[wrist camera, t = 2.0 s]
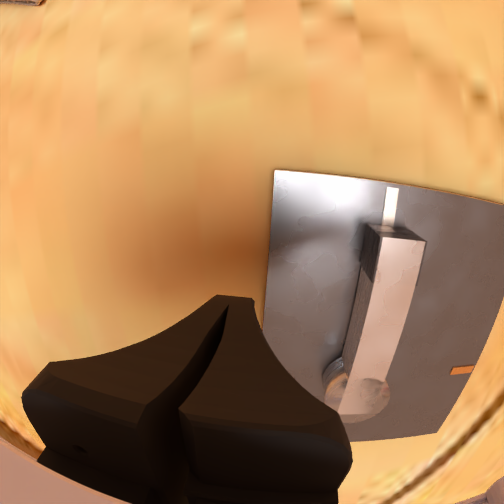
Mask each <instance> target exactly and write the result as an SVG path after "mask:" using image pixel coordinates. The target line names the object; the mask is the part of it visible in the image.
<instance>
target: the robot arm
mask: <svg viewBox="0 0 504 504" xmlns="http://www.w3.org/2000/svg"><path fill="white" fill-rule="evenodd" d="M254 303H255V301H254V300H253V299H252V298H245V297H235V296H225V295H216V296H214V297H213V298H211V299H210V300H209V301H208V302H206V303H205V304H204V305H202V306H201V307H200V308H198V309H197V310H196V311H194V312H193V313H191V314H190V315H189V316H187V317H186V318H184V319H182V320H181V321H179V322H178V323H176V324H174V325H173V326H171V327H170V328H168V329H166V330H164V331H163V332H161V333H159V334H157V335H155V336H153V337H150V338H148V339H146V340H144V341H141V342H139V343H136V344H133V345H131V346H128V347H125V348H122V349H119V350H116V351H113V352H109V353H105V354H101V355H97V356H92V357H87V358H81V359H74V360H66V361H57V362H49V363H48V364H47V366H46V367H45V368H44V369H43V370H42V371H41V372H40V373H39V374H38V375H37V377H36V378H35V379H34V380H33V381H32V382H31V383H30V384H29V386H28V387H27V388H26V389H25V390H24V391H23V393H22V397H21V398H22V403H23V408H24V411H25V413H26V415H27V417H28V419H29V420H30V422H31V424H32V425H33V427H34V429H35V430H36V432H37V433H38V435H39V436H40V438H41V440H42V441H43V443H44V444H45V445H46V448H45V449H44V451H43V452H42V454H41V455H40V457H39V458H38V460H36V459H35V458H33V457H31V456H30V455H28V454H26V453H24V452H23V451H21V450H20V449H18V448H16V447H15V446H13V445H12V444H10V443H9V442H7V441H6V440H4V439H3V438H1V437H0V504H338V488H339V487H340V485H341V483H342V482H343V480H344V479H345V477H346V475H347V474H348V472H349V471H350V468H351V465H352V462H353V459H352V450H351V446H350V442H349V439H348V436H347V433H346V430H345V427H344V425H343V422H342V420H341V418H340V415H339V413H338V412H336V411H335V410H333V409H332V408H330V407H329V406H328V405H326V404H325V403H323V402H322V401H320V400H319V399H317V398H316V397H314V396H313V395H312V394H310V393H309V392H308V391H307V390H306V389H305V388H303V387H302V386H301V385H300V384H299V383H298V382H297V381H296V380H295V379H294V378H293V377H292V375H291V374H290V373H289V372H288V371H287V370H286V369H285V368H284V366H283V365H282V364H281V362H280V361H279V360H278V358H277V357H276V355H275V354H274V352H273V351H272V349H271V348H270V346H269V344H268V342H267V340H266V338H265V337H264V334H263V332H262V330H261V328H260V325H259V322H258V320H257V317H256V313H255V308H254ZM455 504H504V476H503V477H502V478H500V479H499V480H497V481H496V482H495V483H494V484H493V485H492V486H491V487H490V488H489V489H488V490H487V491H486V492H485V493H483V494H480V495H478V496H475V497H472V498H470V499H467V500H464V501H461V502H458V503H455Z"/></svg>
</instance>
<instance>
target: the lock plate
mask: <svg viewBox="0 0 504 504" xmlns="http://www.w3.org/2000/svg"><path fill="white" fill-rule="evenodd" d="M366 224H375V225H384V226H392V227H401V228H409V229H410V230H411V231H413V232H414V233H416V234H417V235H419V236H420V237H421V238H423V239H424V240H426V241H427V246H426V251H425V255H424V260H423V264H422V268H421V273H420V277H419V281H418V285H417V286H415V289H414V292H413V296H412V300H411V303H410V307H409V310H408V314H407V317H406V320H405V324H404V327H403V330H402V333H401V336H400V339H399V342H398V345H397V348H396V351H395V354H394V356H393V359H392V362H391V365H390V367H389V370H388V373H387V375H386V381H387V384H388V386H389V389H390V399H389V401H388V403H387V405H386V406H385V407H384V409H383V410H382V411H380V412H379V413H378V414H377V415H375V416H373V417H371V418H369V419H367V420H364V421H360V422H355V423H343V425H344V427H345V430H346V433H347V436H348V439H349V442H356V441H372V440H385V439H395V438H403V437H411V436H419V435H425V434H432V433H437V431H438V430H439V428H440V427H441V425H442V424H443V422H444V421H445V419H446V418H447V416H448V414H449V413H450V411H451V409H452V408H453V406H454V404H455V403H456V401H457V399H458V397H459V396H460V394H461V392H462V390H463V389H464V387H465V385H466V383H467V381H468V379H469V377H470V375H471V373H472V371H473V369H474V367H475V365H476V363H477V361H478V359H479V357H480V355H481V353H482V350H483V348H484V346H485V344H486V341H487V339H488V337H489V334H490V332H491V330H492V327H493V325H494V322H495V319H496V317H497V314H498V312H499V309H500V306H501V303H502V300H503V297H504V204H500V203H496V202H492V201H488V200H483V199H479V198H475V197H470V196H465V195H461V194H456V193H451V192H446V191H441V190H436V189H430V188H425V187H419V186H413V185H407V184H401V183H395V182H388V181H382V180H375V179H367V178H360V177H352V176H344V175H335V174H326V173H316V172H306V171H295V170H283V169H275V173H274V188H273V203H272V217H271V231H270V245H269V258H268V271H267V284H266V296H265V309H264V321H263V334H264V337H265V338H266V340H267V342H268V344H269V346H270V348H271V349H272V351H273V352H274V354H275V355H276V357H277V358H278V360H279V361H280V362H281V364H282V365H283V366H284V368H285V369H286V370H287V371H288V372H289V373H290V374H291V375H292V377H293V378H294V379H295V380H296V381H297V382H298V383H299V384H300V385H301V386H302V387H303V388H305V389H306V390H307V391H308V392H309V393H310V394H312V395H313V396H314V397H316V398H317V399H319V400H320V401H322V402H323V403H325V399H324V391H323V383H322V377H323V374H324V372H325V370H326V368H327V367H328V366H329V365H330V364H331V363H332V362H333V361H335V360H336V359H338V358H340V357H341V356H342V353H343V349H344V345H345V341H346V337H347V333H348V329H349V324H350V320H351V316H352V311H353V307H354V302H355V297H356V293H357V288H358V283H359V278H360V272H361V265H360V261H361V256H362V250H363V244H364V237H365V231H366Z"/></svg>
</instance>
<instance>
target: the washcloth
mask: <svg viewBox="0 0 504 504" xmlns="http://www.w3.org/2000/svg"><path fill="white" fill-rule="evenodd" d="M41 1H42V0H0V3H4V4H5V3H6V4H11V3H13V4H19V5H28V6H37V5H39V4H40V2H41Z"/></svg>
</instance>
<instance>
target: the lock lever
mask: <svg viewBox="0 0 504 504" xmlns="http://www.w3.org/2000/svg"><path fill="white" fill-rule="evenodd" d="M426 246H427V241H426V240H424V239H423V238H421V237H420V236H419V235H417V234H416V233H414V232H413V231H411V230H410V229H409V228H401V227H392V226H384V225H375V224H366V231H365V237H364V244H363V250H362V256H361V261H360V265H361V272H360V278H359V283H358V288H357V293H356V297H355V302H354V307H353V311H352V316H351V320H350V324H349V329H348V333H347V337H346V341H345V345H344V349H343V353H342V356H341V357H340V358H338V359H336V360H335V361H333V362H332V363H331V364H330V365H329V366H328V367H327V368H326V370H325V372H324V374H323V377H322V383H323V391H324V399H325V404H326V405H328V406H329V407H330V408H332V409H333V410H335V411H336V412H338V413H339V415H340V418H341V420H342V422H343V423H355V422H360V421H364V420H367V419H369V418H371V417H373V416H375V415H377V414H378V413H379V412H380V411H382V410H383V409H384V407H385V406H386V405H387V403H388V401H389V399H390V389H389V386H388V384H387V381H386V375H387V373H388V370H389V367H390V365H391V362H392V359H393V356H394V354H395V351H396V348H397V345H398V342H399V339H400V336H401V333H402V330H403V327H404V324H405V320H406V317H407V314H408V310H409V307H410V303H411V300H412V296H413V292H414V289H415V286H417V285H418V281H419V277H420V273H421V268H422V264H423V260H424V255H425V251H426Z"/></svg>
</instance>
